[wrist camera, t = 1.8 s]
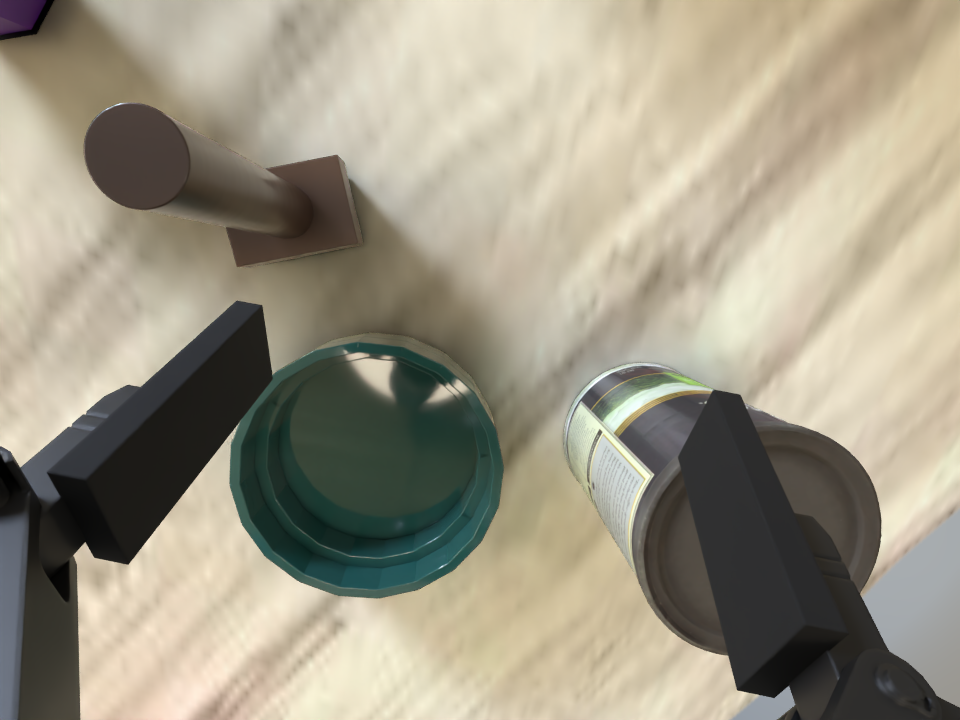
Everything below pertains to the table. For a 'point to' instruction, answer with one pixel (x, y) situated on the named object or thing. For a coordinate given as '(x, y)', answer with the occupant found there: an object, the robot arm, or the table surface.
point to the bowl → (368, 466)
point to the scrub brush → (221, 186)
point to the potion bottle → (22, 17)
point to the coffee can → (663, 497)
